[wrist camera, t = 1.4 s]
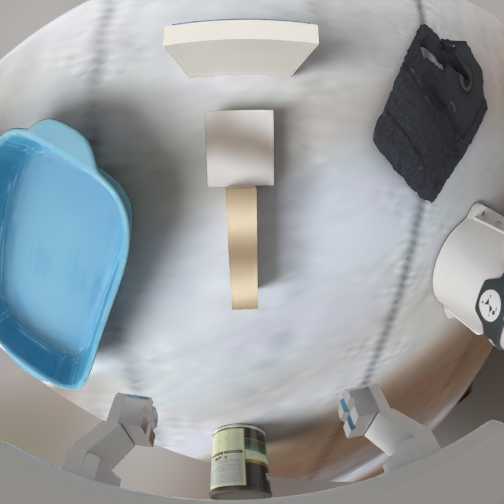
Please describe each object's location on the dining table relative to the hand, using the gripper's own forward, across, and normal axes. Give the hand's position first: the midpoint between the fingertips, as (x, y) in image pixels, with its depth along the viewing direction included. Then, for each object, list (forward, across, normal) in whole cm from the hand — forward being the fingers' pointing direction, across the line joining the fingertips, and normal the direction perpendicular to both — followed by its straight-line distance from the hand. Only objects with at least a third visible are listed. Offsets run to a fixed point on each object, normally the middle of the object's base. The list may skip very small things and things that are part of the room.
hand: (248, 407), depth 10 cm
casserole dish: (+21, +24, +3) cm, 33 cm away
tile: (+20, 0, -18) cm, 27 cm away
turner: (+20, 0, -4) cm, 21 cm away
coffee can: (+21, +1, +39) cm, 44 cm away
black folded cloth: (+20, -23, -17) cm, 35 cm away
